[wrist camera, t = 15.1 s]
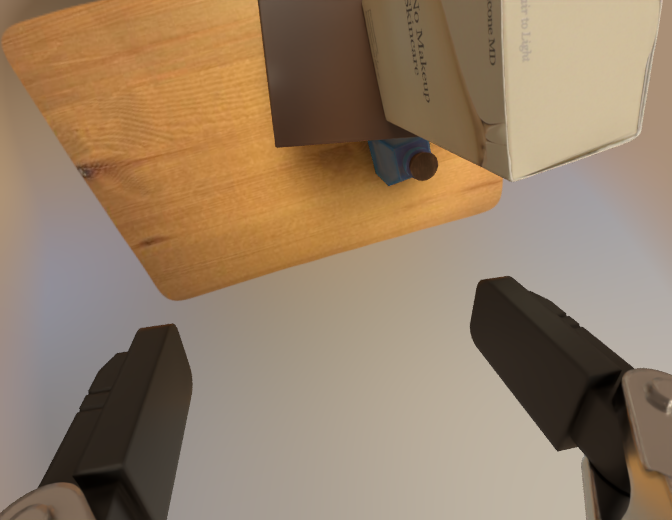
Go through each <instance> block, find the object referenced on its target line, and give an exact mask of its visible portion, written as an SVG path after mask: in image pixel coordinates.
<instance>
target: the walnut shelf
mask: <svg viewBox="0 0 672 520" xmlns="http://www.w3.org/2000/svg"><path fill="white" fill-rule="evenodd" d="M258 6H259V15H260V23H261V32H262V40H263V48H264V57H265V65H266V73H267V82H268V90H269V99H270V107H271V115H272V123H273V131H274V139H275V146H276V147H277V148H279V147H292V146H305V145H318V144H332V143H345V142H358V141H371V140H384V139H397V138H410V137H419V136H417V135H415V134H413V133H411V132H409V131H407V130H405V129H403V128H401V127H399V126H397V125H395V124H393V123H391V122H389V121H387V120H386V117H385V113H384V109H383V104H382V99H381V95H380V90H379V86H378V81H377V76H376V71H375V66H374V62H373V57H372V52H371V47H370V42H369V37H368V32H367V27H366V21H365V16H364V11H363V6H362V0H258Z"/></svg>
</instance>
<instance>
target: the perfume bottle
mask: <svg viewBox="0 0 672 520" xmlns="http://www.w3.org/2000/svg"><path fill="white" fill-rule="evenodd" d="M368 145H369V149H370V152H371V156H372V160H373V164H374V168H375V172H376V174H377V175H378V176H379V177H380V178H381V179H382V180H383V181H384V182H385V183H386V184H387V185H388V186H390V185H393V184H396V183H399V182H401V181H404V180H407V179H410V178H414V179H417V180H420V181H424V180H428V179H430V178H431V177H432V176H433V175H434V174H435V172H436V171H437V168H438V161H437V158H436V157H435V155H433V154H432V153H431V150H430V144H429V141H427V140H425V139H423V138H421V137H410V138H397V139H384V140H371V141H368Z"/></svg>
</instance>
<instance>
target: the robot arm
mask: <svg viewBox="0 0 672 520" xmlns="http://www.w3.org/2000/svg"><path fill="white" fill-rule="evenodd" d="M470 332H471V336H472V339H473V341H474V344H475V345H476V347H477V348H478V349H479V351H480V352H481V353H482V354H483V356H484V357H485V358H486V360H487V361H488V362H489V364H490V365H491V366H492V367H493V369H494V370H495V371H496V373H497V374H498V375H499V377H500V378H501V379H502V380H503V382H504V383H505V384H506V386H507V387H508V388H509V389H510V391H511V392H512V393H513V395H514V396H515V397H516V399H517V400H518V401H519V402H520V404H521V405H522V406H523V408H524V409H525V410H526V411H527V413H528V414H529V415H530V417H531V418H532V419H533V421H534V422H535V423H536V424H537V426H538V427H539V428H540V430H541V431H542V432H543V433H544V435H545V436H546V437H547V439H548V440H549V441H550V442H551V444H552V445H553V446H554V448H555V449H556V450H557V451H561V450H566V449H570V448H575V447H579V449H580V450H581V451H582V452H583V453H584V454H585V455H584V457H583V459H582V463H581V468H582V479H583V489H584V500H585V510H586V520H672V375H670V374H668V373H665V372H662V371H658V370H653V369H647V368H637V369H634V368H633V367H632V366H631V365H629V364H628V363H627V362H626V361H624V360H623V359H622V358H621V357H619V356H618V355H617V354H616V353H615V352H613V351H612V350H611V349H609V348H608V347H607V346H606V345H605V344H603V343H602V342H601V341H600V340H598V339H597V338H596V337H594V336H593V335H592V334H591V333H590V332H589V331H587V330H586V329H585V328H583V327H580V326H579V323H577V322H576V321H575V320H574V319H572V318H571V317H570V316H566V313H565V312H564V311H563V310H561V309H560V308H559V307H558V306H556V305H555V304H554V303H553V302H551V301H550V300H548V299H545V298H544V297H542V296H540V295H538V294H535V293H533V292H531V291H528V290H527V289H525V288H524V287H523V286H522V285H521V284H520V283H518V282H517V281H516V280H515V279H513V278H512V277H510V276H504V277H497V278H490V279H484V280H481V281H480V282H479V283H478V285H477V288H476V294H475V300H474V305H473V310H472V316H471V322H470ZM191 395H192V374H191V369H190V366H189V362H188V359H187V356H186V353H185V350H184V347H183V344H182V341H181V338H180V335H179V332H178V329H177V327H176V325H175V324H166V325H159V326H152V327H146V328H140V329H139V330H138V331H137V333H136V335H135V337H134V339H133V341H132V344H131V346H130V348H129V351H128V352H122V353H117V354H116V355H115V356H114V357H113V358H112V359H111V360H109V361H108V363H106V364H105V365H104V366H103V367H102V368H101V369H100V371H99V372H98V373H97V375H96V377H95V379H94V381H93V383H92V385H91V387H90V389H89V394H88V395H86V396H85V398H84V401H83V402H82V404H81V406H80V408H79V409H80V412H78V413H77V414H76V416H75V418H74V420H73V422H72V423H71V425H70V427H69V429H68V431H67V433H66V435H65V437H64V439H63V441H62V443H61V445H60V447H59V448H58V450H57V452H56V454H55V456H54V459H53V460H52V462H51V464H50V466H49V468H48V470H47V472H46V474H45V475H44V477H43V479H42V481H41V483H40V485H39V486H38V488H37V489H35V490H33V491H31V492H29V493H27V494H25V495H24V496H23V497H20V498H19V499H18V500H16V501H15V502H13V503H12V504H11V505H9V506H8V507H7V508H6V509H5V510H3V511H2V512H1V513H0V520H167V515H168V510H169V505H170V500H171V495H172V490H173V485H174V480H175V475H176V470H177V465H178V460H179V455H180V450H181V445H182V440H183V435H184V430H185V425H186V420H187V415H188V410H189V405H190V400H191Z"/></svg>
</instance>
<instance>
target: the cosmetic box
mask: <svg viewBox="0 0 672 520" xmlns="http://www.w3.org/2000/svg"><path fill="white" fill-rule="evenodd" d="M362 6H363V11H364V16H365V21H366V27H367V32H368V37H369V42H370V47H371V52H372V57H373V62H374V66H375V71H376V76H377V81H378V86H379V90H380V95H381V99H382V104H383V109H384V113H385V117H386V120H387V121H389V122H391V123H393V124H395V125H397V126H399V127H401V128H403V129H405V130H407V131H409V132H411V133H413V134H415V135H417V136H419V137H421V138H423V139H425V140H427V141H429V142H431V143H433V144H435V145H437V146H439V147H442V148H443V149H446V150H448V151H449V152H451V153H454V154H456V155H458V156H460V157H462V158H464V159H466V160H468V161H470V162H472V163H474V164H476V165H478V166H480V167H483V168H485V169H487V170H488V171H490V172H492V173H494V174H496V175H498V176H500V177H502V178H504V179H507V180H509V181H511V182H514V181H518V180H521V179H524V178H527V177H530V176H533V175H536V174H539V173H542V172H545V171H548V170H551V169H554V168H556V167H560V166H563V165H566V164H569V163H572V162H574V161H577V160H580V159H583V158H586V157H589V156H592V155H595V154H597V153H600V152H603V151H605V150H608V149H610V148H613V147H617V146H619V145H622V144H625V143H627V142H630V141H632V140H634V139H635V138H637V137H638V136H639V134H640V133H641V130H642V123H643V116H644V109H645V104H646V99H647V92H648V85H649V81H650V72H651V68H652V61H653V54H654V50H655V45H656V41H657V34H658V29H659V22H660V15H661V8H662V0H362Z"/></svg>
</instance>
